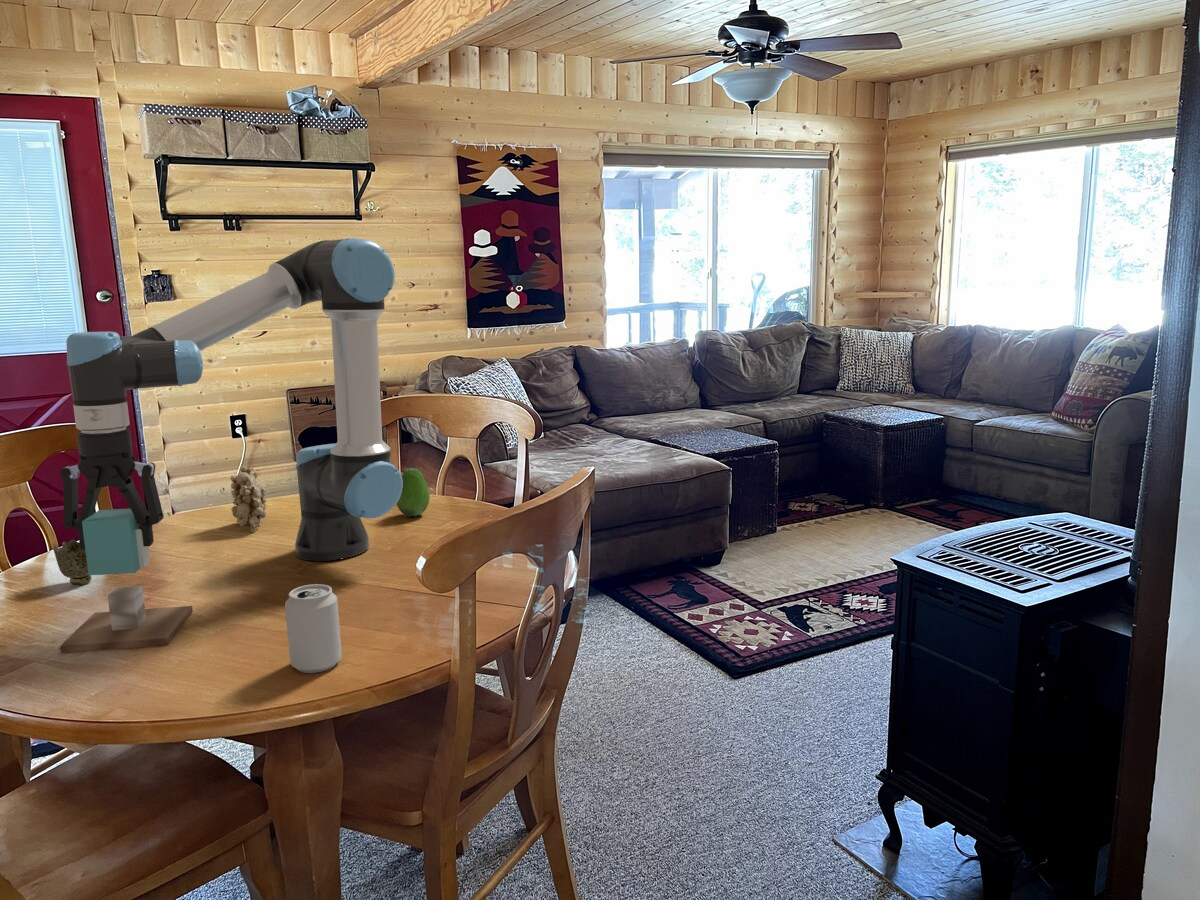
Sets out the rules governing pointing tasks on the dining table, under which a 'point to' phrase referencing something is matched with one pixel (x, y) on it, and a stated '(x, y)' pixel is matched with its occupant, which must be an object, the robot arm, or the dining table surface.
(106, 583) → the dining table surface
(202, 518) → the dining table surface
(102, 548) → the teal toy cube
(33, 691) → the dining table surface
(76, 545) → the cup
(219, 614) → the dining table surface
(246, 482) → the mineral formation
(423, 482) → the fruit
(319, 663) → the can
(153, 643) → the peg base
